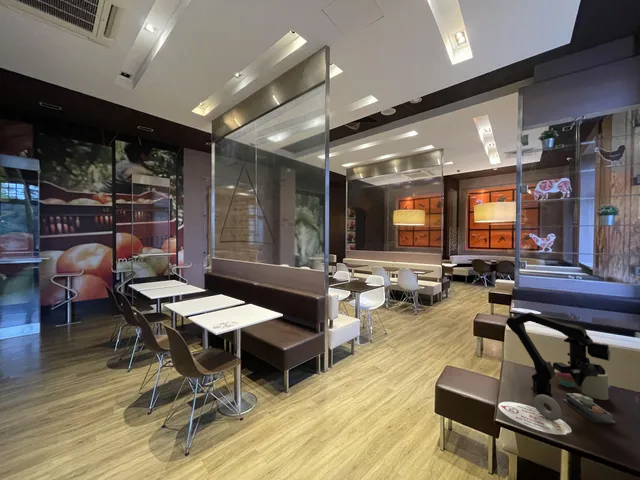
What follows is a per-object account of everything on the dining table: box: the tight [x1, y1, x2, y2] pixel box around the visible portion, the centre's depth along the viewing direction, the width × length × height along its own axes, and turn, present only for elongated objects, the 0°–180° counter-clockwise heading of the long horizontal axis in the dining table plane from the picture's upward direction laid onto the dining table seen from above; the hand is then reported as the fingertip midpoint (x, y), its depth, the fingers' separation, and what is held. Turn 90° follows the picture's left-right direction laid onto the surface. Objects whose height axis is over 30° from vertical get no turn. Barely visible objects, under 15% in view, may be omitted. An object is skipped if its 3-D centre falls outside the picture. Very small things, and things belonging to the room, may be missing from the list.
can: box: [582, 372, 610, 401], centre depth 133 cm, size 9×9×12 cm
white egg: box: [573, 392, 582, 400], centre depth 125 cm, size 4×4×4 cm
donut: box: [533, 394, 563, 422], centre depth 116 cm, size 10×4×10 cm, turn 23°
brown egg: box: [592, 406, 605, 413], centre depth 115 cm, size 4×4×4 cm
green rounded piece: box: [582, 395, 594, 406], centre depth 120 cm, size 4×4×4 cm
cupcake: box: [555, 371, 576, 388], centre depth 142 cm, size 9×8×12 cm
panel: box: [562, 392, 617, 425], centre depth 120 cm, size 9×16×4 cm, turn 173°
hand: (578, 386), depth 125 cm, fingers closed
